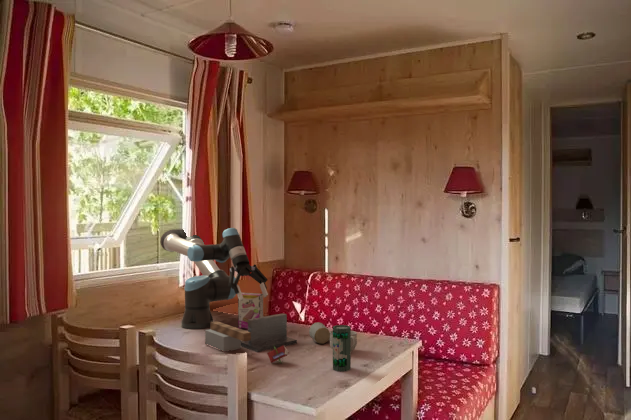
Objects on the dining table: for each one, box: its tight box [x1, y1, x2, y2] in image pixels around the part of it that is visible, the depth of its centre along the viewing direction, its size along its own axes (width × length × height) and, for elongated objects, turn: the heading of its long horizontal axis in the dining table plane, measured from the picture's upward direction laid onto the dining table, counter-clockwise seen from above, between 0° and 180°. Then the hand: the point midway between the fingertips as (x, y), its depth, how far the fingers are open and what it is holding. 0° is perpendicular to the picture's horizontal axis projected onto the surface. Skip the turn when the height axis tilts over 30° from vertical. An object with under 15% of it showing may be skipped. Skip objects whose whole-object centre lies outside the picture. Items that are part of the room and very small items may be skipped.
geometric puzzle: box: [266, 345, 289, 365], centre depth 198 cm, size 7×7×8 cm
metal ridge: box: [241, 313, 298, 353], centre depth 224 cm, size 14×20×12 cm
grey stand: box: [204, 328, 242, 352], centre depth 221 cm, size 15×8×6 cm, turn 40°
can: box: [332, 324, 352, 372], centre depth 191 cm, size 6×6×15 cm
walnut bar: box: [209, 320, 251, 341], centre depth 216 cm, size 26×3×3 cm, turn 40°
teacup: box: [329, 329, 358, 353], centre depth 211 cm, size 14×11×8 cm
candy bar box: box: [237, 292, 264, 330], centre depth 251 cm, size 11×5×16 cm, turn 74°
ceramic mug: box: [308, 322, 330, 345], centre depth 227 cm, size 11×8×8 cm
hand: (254, 297), depth 244 cm, fingers open, 13 cm apart
